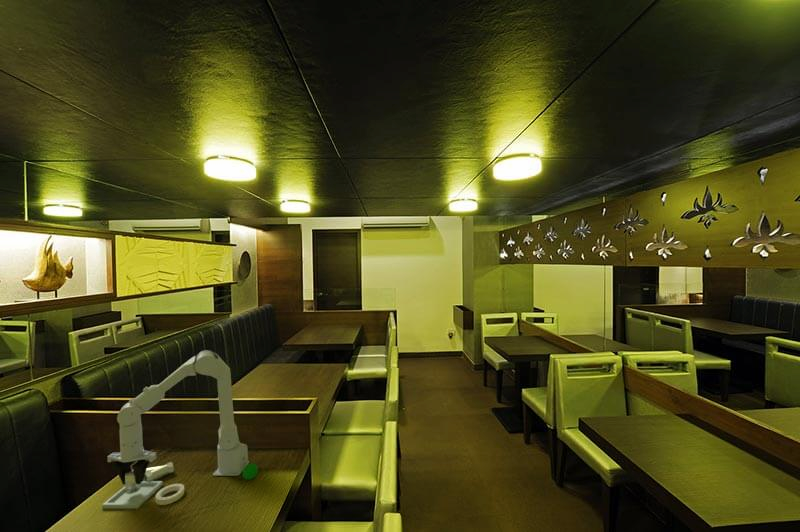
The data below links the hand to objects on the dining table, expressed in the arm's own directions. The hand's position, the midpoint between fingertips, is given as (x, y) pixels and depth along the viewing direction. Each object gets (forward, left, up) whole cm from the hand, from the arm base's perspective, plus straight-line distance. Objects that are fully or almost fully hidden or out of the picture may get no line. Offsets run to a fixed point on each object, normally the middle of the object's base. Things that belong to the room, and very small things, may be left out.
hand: (133, 482), depth 112 cm
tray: (0, 0, -5) cm, 5 cm away
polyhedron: (-34, -9, -5) cm, 36 cm away
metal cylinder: (0, 0, -2) cm, 2 cm away
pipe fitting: (0, -11, -5) cm, 12 cm away
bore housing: (-12, 0, -5) cm, 13 cm away
